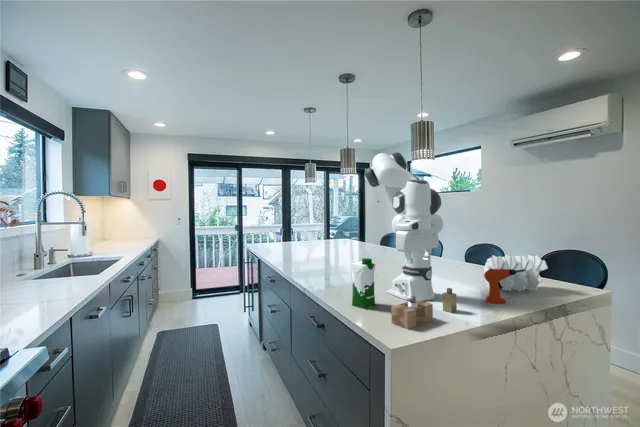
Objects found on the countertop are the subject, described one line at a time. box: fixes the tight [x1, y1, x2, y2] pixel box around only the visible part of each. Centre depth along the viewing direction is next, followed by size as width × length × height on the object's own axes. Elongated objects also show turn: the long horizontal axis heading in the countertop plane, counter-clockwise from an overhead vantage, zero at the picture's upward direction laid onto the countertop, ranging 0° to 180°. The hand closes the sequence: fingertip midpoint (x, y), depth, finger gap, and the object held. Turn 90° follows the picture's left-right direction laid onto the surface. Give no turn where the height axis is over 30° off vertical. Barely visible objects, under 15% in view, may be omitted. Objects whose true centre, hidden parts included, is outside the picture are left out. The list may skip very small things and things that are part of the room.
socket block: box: [390, 299, 434, 330], centre depth 107 cm, size 7×14×6 cm, turn 125°
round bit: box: [407, 296, 418, 307], centre depth 107 cm, size 4×4×9 cm
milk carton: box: [350, 257, 376, 310], centre depth 127 cm, size 9×9×20 cm
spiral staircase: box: [483, 254, 549, 293], centre depth 146 cm, size 18×18×25 cm
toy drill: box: [483, 268, 526, 304], centre depth 129 cm, size 5×19×15 cm, turn 93°
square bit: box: [442, 287, 458, 314], centre depth 118 cm, size 4×4×9 cm
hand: (418, 261), depth 108 cm, fingers open, 8 cm apart
